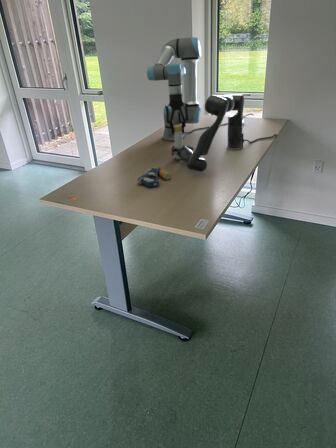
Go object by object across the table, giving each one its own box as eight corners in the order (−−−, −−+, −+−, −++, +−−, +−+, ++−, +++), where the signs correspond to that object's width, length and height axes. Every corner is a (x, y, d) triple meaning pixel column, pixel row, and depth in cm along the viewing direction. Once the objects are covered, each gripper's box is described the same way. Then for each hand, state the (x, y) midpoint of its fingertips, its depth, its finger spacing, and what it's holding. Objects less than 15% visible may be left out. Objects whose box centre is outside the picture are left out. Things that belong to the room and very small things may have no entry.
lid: (184, 128, 202) (183, 125, 201) (179, 131, 199) (178, 127, 198) (176, 128, 205) (176, 124, 204) (171, 130, 202) (171, 126, 201)
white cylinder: (181, 159, 209) (179, 128, 198) (174, 158, 211) (172, 127, 201) (184, 157, 212) (183, 126, 202) (178, 156, 214) (176, 125, 204)
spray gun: (175, 173, 189) (152, 171, 196) (175, 166, 187) (151, 164, 193) (159, 190, 174) (134, 186, 180) (158, 182, 172) (133, 179, 178)
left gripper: (189, 90, 196) (191, 129, 208) (158, 94, 193) (161, 133, 205) (193, 92, 189) (194, 132, 201) (160, 96, 187) (164, 137, 199)
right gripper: (198, 146, 196) (187, 139, 210) (174, 150, 193) (166, 142, 207) (198, 158, 200) (188, 150, 214) (175, 163, 197) (167, 154, 211)
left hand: (178, 133), depth 203 cm, fingers open, 6 cm apart
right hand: (177, 146), depth 210 cm, fingers closed on white cylinder, 5 cm apart
